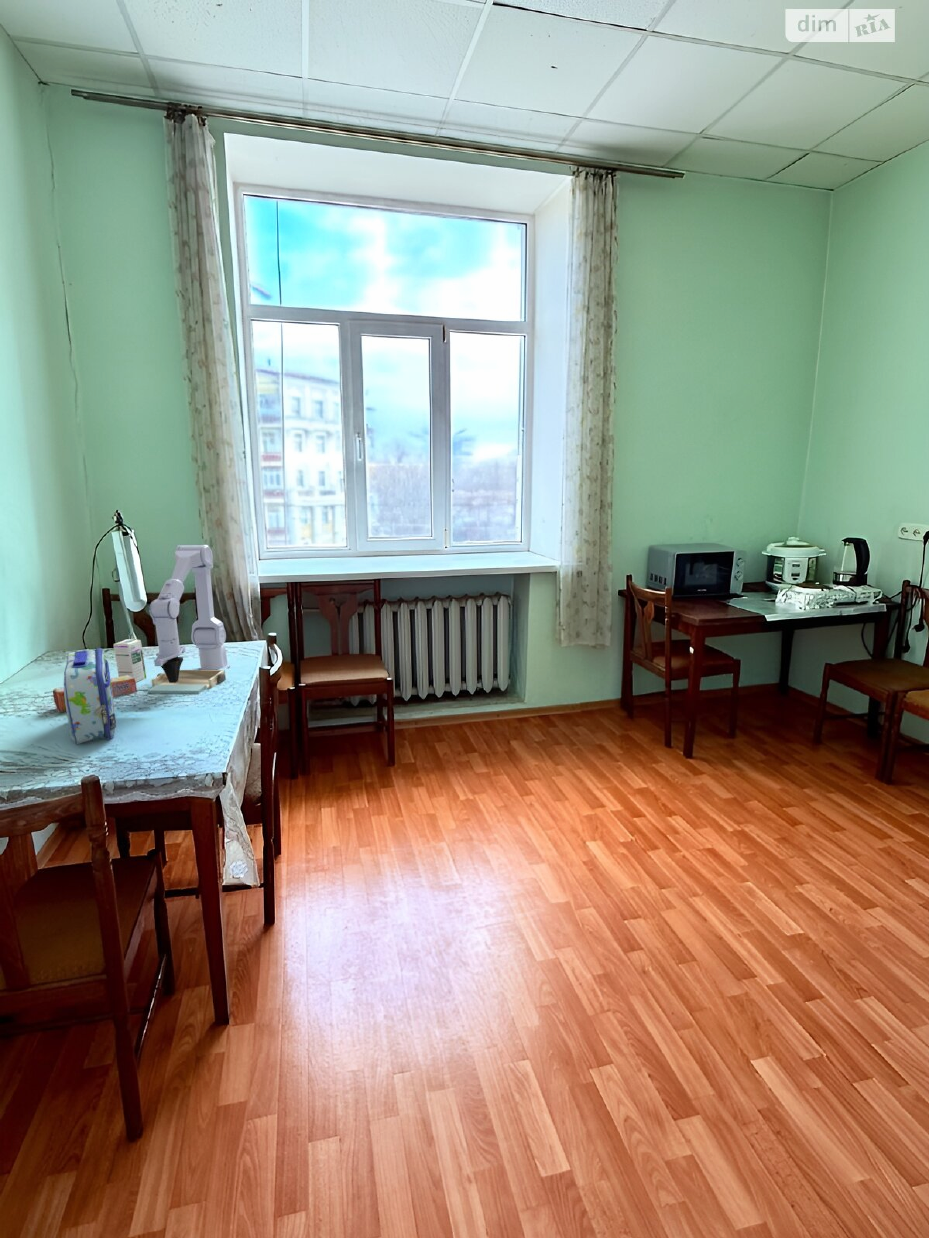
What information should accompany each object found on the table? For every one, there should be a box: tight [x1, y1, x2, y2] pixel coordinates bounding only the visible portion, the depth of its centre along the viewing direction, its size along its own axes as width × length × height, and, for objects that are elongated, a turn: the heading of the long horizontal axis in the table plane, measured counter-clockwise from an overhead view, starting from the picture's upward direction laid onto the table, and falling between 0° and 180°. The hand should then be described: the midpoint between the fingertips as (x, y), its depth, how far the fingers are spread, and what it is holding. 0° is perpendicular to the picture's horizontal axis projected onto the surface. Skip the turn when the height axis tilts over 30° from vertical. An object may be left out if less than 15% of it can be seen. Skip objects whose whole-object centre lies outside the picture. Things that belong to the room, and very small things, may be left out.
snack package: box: [52, 675, 138, 712], centre depth 193 cm, size 21×7×7 cm, turn 130°
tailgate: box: [147, 685, 208, 695], centre depth 198 cm, size 1×16×5 cm
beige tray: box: [151, 669, 227, 689], centre depth 205 cm, size 10×21×4 cm, turn 86°
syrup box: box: [113, 638, 147, 684], centre depth 207 cm, size 6×6×14 cm
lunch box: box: [63, 647, 117, 744], centre depth 170 cm, size 26×11×21 cm, turn 29°
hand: (173, 682), depth 195 cm, fingers closed
